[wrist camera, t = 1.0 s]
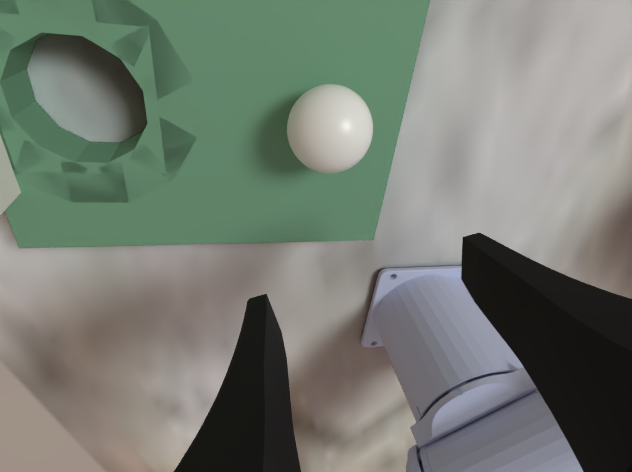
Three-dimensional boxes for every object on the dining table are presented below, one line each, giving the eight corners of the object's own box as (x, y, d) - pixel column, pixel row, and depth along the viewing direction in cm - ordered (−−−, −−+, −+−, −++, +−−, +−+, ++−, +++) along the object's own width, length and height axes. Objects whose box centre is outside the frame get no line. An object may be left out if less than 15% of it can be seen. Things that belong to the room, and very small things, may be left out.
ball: (365, 78, 17) (394, 100, 14) (351, 154, 19) (375, 188, 16) (284, 71, 16) (298, 94, 13) (279, 152, 18) (290, 187, 15)
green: (419, -59, 16) (480, -67, 13) (361, 218, 24) (388, 267, 20) (-106, -146, 12) (-260, -199, 8) (28, 221, 20) (-20, 283, 16)
